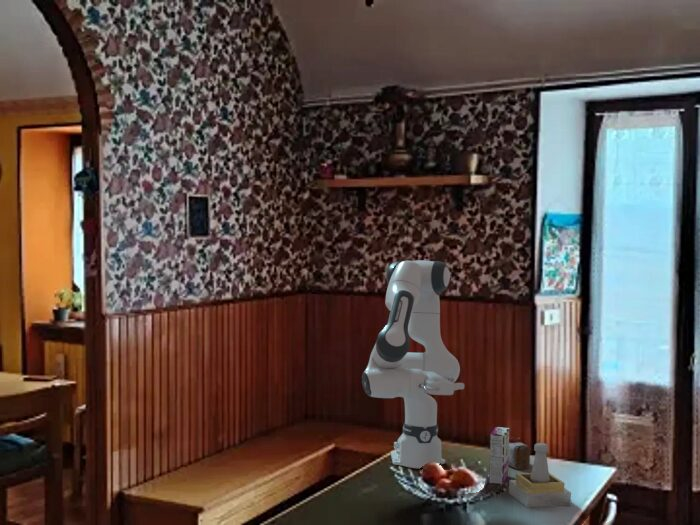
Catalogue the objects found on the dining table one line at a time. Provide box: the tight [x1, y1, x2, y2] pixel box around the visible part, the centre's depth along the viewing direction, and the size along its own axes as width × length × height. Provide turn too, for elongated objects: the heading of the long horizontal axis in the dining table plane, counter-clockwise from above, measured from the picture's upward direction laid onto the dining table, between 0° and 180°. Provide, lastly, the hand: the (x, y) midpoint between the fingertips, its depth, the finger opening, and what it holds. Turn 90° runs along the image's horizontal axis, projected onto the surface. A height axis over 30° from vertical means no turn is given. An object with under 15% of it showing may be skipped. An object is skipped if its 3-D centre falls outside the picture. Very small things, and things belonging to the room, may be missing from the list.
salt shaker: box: [530, 442, 550, 483], centre depth 262 cm, size 6×6×13 cm
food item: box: [508, 436, 531, 470], centre depth 302 cm, size 14×8×10 cm, turn 22°
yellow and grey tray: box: [508, 472, 572, 508], centre depth 263 cm, size 14×14×6 cm
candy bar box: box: [488, 426, 510, 485], centre depth 282 cm, size 11×5×16 cm, turn 161°
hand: (458, 383), depth 263 cm, fingers open, 8 cm apart
